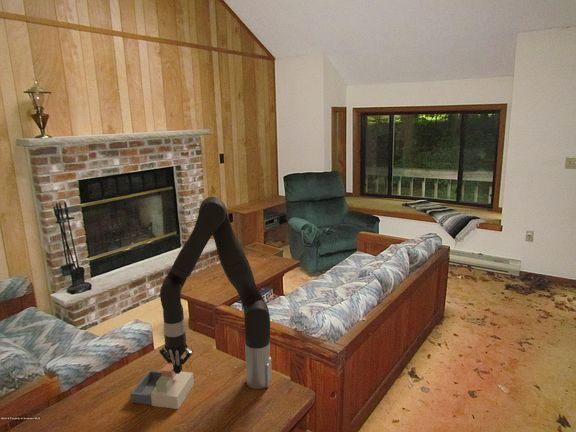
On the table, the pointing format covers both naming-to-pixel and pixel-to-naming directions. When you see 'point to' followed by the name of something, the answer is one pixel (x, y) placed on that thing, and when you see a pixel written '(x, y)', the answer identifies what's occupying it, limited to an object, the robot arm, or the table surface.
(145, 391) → the box
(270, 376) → the robot arm
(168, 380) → the sage green cube
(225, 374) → the table surface
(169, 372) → the orange cube
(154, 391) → the cream rectangular block
